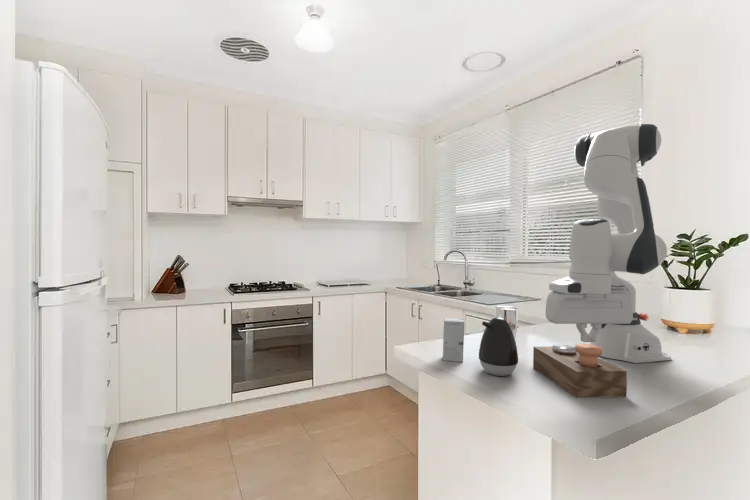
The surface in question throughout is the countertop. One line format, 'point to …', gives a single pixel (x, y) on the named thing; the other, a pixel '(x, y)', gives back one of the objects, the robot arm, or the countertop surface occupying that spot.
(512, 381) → the countertop surface
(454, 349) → the skincare box
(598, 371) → the walnut block
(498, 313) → the beer glass
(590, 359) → the terracotta plunger
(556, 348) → the steel plunger
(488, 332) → the pump dispenser
